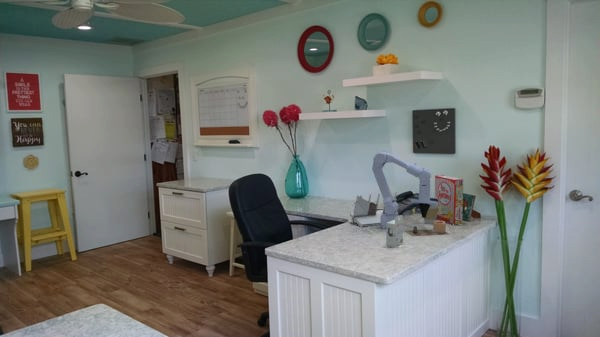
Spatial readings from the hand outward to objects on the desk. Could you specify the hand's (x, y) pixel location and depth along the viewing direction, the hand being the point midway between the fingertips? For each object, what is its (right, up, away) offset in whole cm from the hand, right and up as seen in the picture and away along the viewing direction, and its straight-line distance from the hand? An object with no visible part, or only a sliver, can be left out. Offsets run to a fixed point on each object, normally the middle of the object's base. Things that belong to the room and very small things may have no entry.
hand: (424, 217), depth 243 cm
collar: (+7, -7, -4) cm, 10 cm away
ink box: (-21, -11, -24) cm, 33 cm away
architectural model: (-22, -6, +27) cm, 35 cm away
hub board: (0, -9, -4) cm, 10 cm away
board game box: (+22, -6, +27) cm, 35 cm away
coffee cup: (+9, -7, +19) cm, 22 cm away
